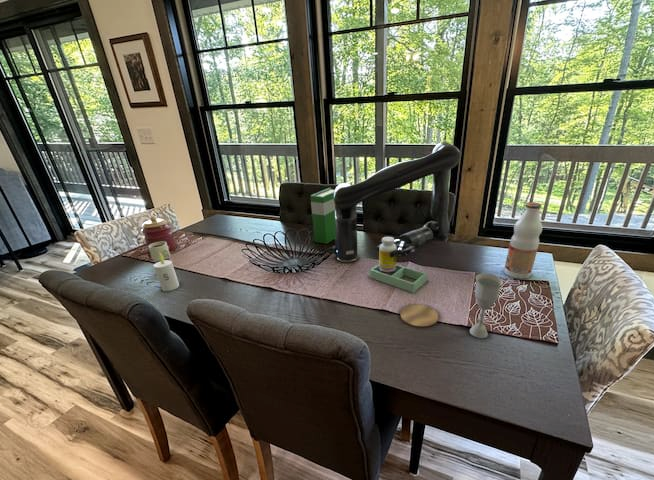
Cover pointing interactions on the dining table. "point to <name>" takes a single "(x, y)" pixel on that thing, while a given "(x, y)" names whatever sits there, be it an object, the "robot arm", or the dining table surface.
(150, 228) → the kitchen canister
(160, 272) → the candle
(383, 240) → the supplement bottle
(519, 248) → the fruit juice
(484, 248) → the dining table surface
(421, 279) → the holder
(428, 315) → the coaster
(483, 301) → the chalice
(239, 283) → the dining table surface
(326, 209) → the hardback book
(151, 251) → the character mug
